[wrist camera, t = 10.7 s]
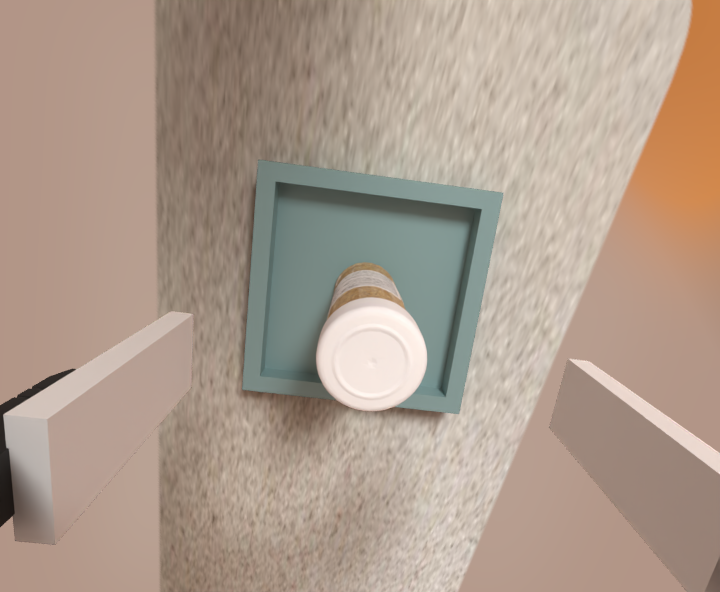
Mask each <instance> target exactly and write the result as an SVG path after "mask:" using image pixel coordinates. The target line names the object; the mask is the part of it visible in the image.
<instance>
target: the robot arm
mask: <svg viewBox="0 0 720 592" xmlns="http://www.w3.org/2000/svg"><path fill="white" fill-rule="evenodd" d="M193 321H194V314H190V313H182V312H174V311H170V312H169V313H167V314H166V315H164V316H162V317H161V318H159V319H157V320H156V321H154V322H153V323H151V324H149V325H148V326H146V327H144V328H143V329H141V330H140V331H138V332H136V333H135V334H133V335H132V336H130V337H128V338H127V339H125V340H124V341H122V342H120V343H119V344H117V345H115V346H114V347H112V348H110V349H109V350H107V351H106V352H104V353H102V354H101V355H99V356H97V357H96V358H94V359H93V360H91V361H89V362H88V363H86V364H85V365H83V366H81V367H80V368H78V369H70V370H67V371H64V372H61V373H58V374H56V375H53V376H50V377H48V378H46V379H45V380H43V381H41V382H39V383H38V384H36V385H34V386H33V387H32V389H27V390H26V391H24V392H22V393H21V394H19V395H18V396H17V398H15V397H14V398H12V399H10V400H9V401H7V402H5V403H3V404H2V405H0V527H1V526H2V525H3V524H4V523H5V522H6V521H7V520H9V519H10V518H11V517H12V516H13V524H14V534H15V541H20V542H32V543H42V544H52V545H56V544H57V542H58V541H59V540H60V539H61V538H62V537H63V535H64V534H65V533H66V532H67V531H68V530H69V528H70V527H71V526H72V525H73V524H74V523H75V521H76V520H77V519H78V518H79V517H80V516H81V515H82V513H83V512H84V511H85V510H86V509H87V507H89V505H90V504H91V503H92V502H93V501H94V500H95V498H96V497H97V496H98V495H99V494H100V493H101V491H102V490H103V489H104V488H105V487H106V486H107V484H108V483H109V482H110V481H111V480H112V479H113V477H114V476H115V475H116V474H117V473H118V472H119V471H120V469H121V468H122V467H123V466H124V465H125V464H126V463H127V461H128V460H129V459H130V458H131V457H132V456H133V454H134V453H135V452H136V451H137V450H138V449H139V447H140V446H141V445H142V444H143V443H144V442H145V440H146V439H147V438H148V437H149V436H150V435H151V433H152V432H153V431H154V430H155V429H156V428H157V427H158V426H159V424H160V423H161V422H162V421H163V420H164V419H165V417H166V416H167V415H168V414H169V413H170V412H171V411H172V409H173V408H174V407H175V406H176V405H177V404H178V402H179V401H180V400H181V399H182V398H183V397H184V395H185V394H186V393H187V392H188V391H189V390H190V389H191V385H192V353H193ZM549 428H550V429H551V430H552V432H553V433H554V434H555V435H556V436H557V438H558V439H559V440H560V441H561V442H562V444H563V445H564V446H565V447H566V448H567V450H568V451H569V452H570V453H571V454H572V455H573V457H574V458H575V459H576V460H577V461H578V463H579V464H580V465H581V466H582V467H583V469H584V470H585V471H586V472H587V473H588V475H589V476H590V477H591V478H592V479H593V481H594V482H595V483H596V484H597V485H598V486H599V488H600V489H601V490H602V491H603V492H604V494H605V495H606V496H607V497H608V498H609V499H610V501H611V502H612V503H613V504H614V505H615V507H616V508H617V509H618V510H619V511H620V513H621V514H622V515H623V516H624V517H625V519H626V520H627V521H628V522H629V523H630V525H631V526H632V527H633V528H634V529H635V531H636V532H637V533H638V534H639V535H640V537H641V538H642V539H643V540H644V541H645V542H646V544H647V545H648V546H649V547H650V548H651V550H652V551H653V552H654V553H655V554H656V555H657V557H658V558H659V559H660V560H661V562H662V563H663V564H664V565H665V566H666V567H667V569H668V570H669V571H670V572H671V574H672V575H673V576H674V577H675V578H676V579H677V581H678V582H679V583H680V584H681V585H682V587H683V588H684V589H685V590H686V591H687V592H720V453H719V452H717V451H716V450H714V449H713V448H712V447H710V446H709V445H707V444H706V443H704V442H703V441H702V440H700V439H699V438H697V437H696V436H695V435H693V434H692V433H690V432H689V431H687V430H686V429H684V428H683V427H682V426H680V425H679V424H677V423H676V422H675V421H673V420H672V419H670V418H669V417H667V416H666V415H665V414H663V413H662V412H660V411H659V410H658V409H656V408H655V407H653V406H652V405H650V404H649V403H648V402H646V401H645V400H643V399H642V398H640V397H639V396H638V395H636V394H635V393H633V392H632V391H630V390H629V389H627V388H626V387H625V386H623V385H622V384H621V383H619V382H618V381H616V380H615V379H613V378H612V377H611V376H609V375H608V374H606V373H605V372H603V371H602V370H601V369H599V368H598V367H596V366H595V365H593V364H592V363H591V362H589V361H583V360H575V359H568V360H567V363H566V367H565V371H564V375H563V378H562V382H561V385H560V389H559V393H558V396H557V400H556V404H555V408H554V412H553V415H552V419H551V422H550V426H549Z"/></svg>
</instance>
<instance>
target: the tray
mask: <svg viewBox="0 0 720 592" xmlns="http://www.w3.org/2000/svg"><path fill="white" fill-rule="evenodd" d="M502 198H503V193H501V192H494V191H486V190H479V189H472V188H464V187H457V186H450V185H442V184H435V183H427V182H420V181H413V180H405V179H398V178H391V177H383V176H376V175H369V174H361V173H354V172H347V171H339V170H332V169H325V168H317V167H310V166H302V165H295V164H288V163H280V162H273V161H266V160H258V169H257V184H256V198H255V212H254V227H253V241H252V255H251V270H250V284H249V298H248V312H247V327H246V341H245V355H244V370H243V384H242V390H249V391H258V392H267V393H276V394H285V395H293V396H302V397H311V398H320V399H329V400H336V399H335V398H334V397H333V396H332V395H330V393H329V392H328V391H327V390H326V388H325V387H324V385H323V384H322V382H321V379H320V377H319V375H318V371H317V365H316V352H317V345H318V341H319V337H320V333H321V331H322V328H323V326H324V324H325V322H326V321H327V317H328V313H329V309H330V305H331V301H332V297H333V294H334V288H335V284H336V281H337V279H338V277H339V276H340V274H341V273H342V272H343V271H344V270H345V269H347V268H348V267H350V266H352V265H354V264H356V263H363V262H367V263H373V264H376V265H379V266H381V267H382V268H383V269H385V270H386V271H387V272H388V273H389V274H390V276H391V277H392V279H393V281H394V283H395V286H396V288H397V290H398V292H399V294H400V296H401V298H402V300H403V303H404V307H405V309H406V311H407V312H408V313H409V314H410V315H411V316H412V318H413V319H414V320H415V322H416V324H417V326H418V328H419V330H420V332H421V334H422V336H423V339H424V342H425V345H426V349H427V366H426V371H425V374H424V377H423V379H422V381H421V383H420V385H419V387H418V388H417V389H416V391H415V392H414V393H413V394H412V395H411V396H410V397H409V398H408V399H406V400H405V401H404V402H402V403H400V404H399V405H397V406H395V407H400V408H409V409H418V410H427V411H436V412H445V413H454V414H459V412H460V407H461V402H462V397H463V392H464V387H465V382H466V377H467V372H468V367H469V362H470V357H471V352H472V347H473V342H474V337H475V332H476V327H477V322H478V317H479V312H480V307H481V302H482V297H483V292H484V288H485V283H486V278H487V273H488V268H489V263H490V258H491V253H492V248H493V243H494V238H495V233H496V228H497V223H498V218H499V213H500V208H501V203H502Z"/></svg>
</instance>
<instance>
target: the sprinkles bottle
mask: <svg viewBox="0 0 720 592" xmlns="http://www.w3.org/2000/svg"><path fill="white" fill-rule="evenodd" d="M316 365H317V371H318V375H319V377H320V379H321V382H322V384H323V385H324V387H325V388H326V390H327V391H328V392H329V393H330V395H332V396H333V397H334V398H335V399H336V400H337V401H339V402H340V403H342V404H344V405H346V406H348V407H350V408H353V409H357V410H361V411H382V410H386V409H389V408H392V407H395V406H397V405H399V404H400V403H402V402H404V401H405V400H406V399H408V398H409V397H410V396H411V395H412V394H413V393H414V392H415V391H416V389H417V388H418V387H419V385H420V383H421V381H422V379H423V377H424V374H425V371H426V366H427V349H426V345H425V342H424V339H423V336H422V334H421V332H420V330H419V328H418V326H417V324H416V322H415V320H414V319H413V318H412V316H411V315H410V314H409V313H408V312H407V311H406V309H405V307H404V303H403V300H402V298H401V296H400V294H399V292H398V290H397V288H396V286H395V283H394V281H393V279H392V277H391V276H390V274H389V273H388V272H387V271H386V270H385V269H383V268H382V267H381V266H379V265H376V264H373V263H367V262H363V263H356V264H354V265H352V266H350V267H348V268H347V269H345V270H344V271H343V272H342V273H341V274H340V276H339V277H338V279H337V281H336V284H335V288H334V294H333V297H332V301H331V305H330V309H329V313H328V317H327V321H326V322H325V324H324V326H323V328H322V331H321V333H320V337H319V341H318V345H317V352H316Z"/></svg>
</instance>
